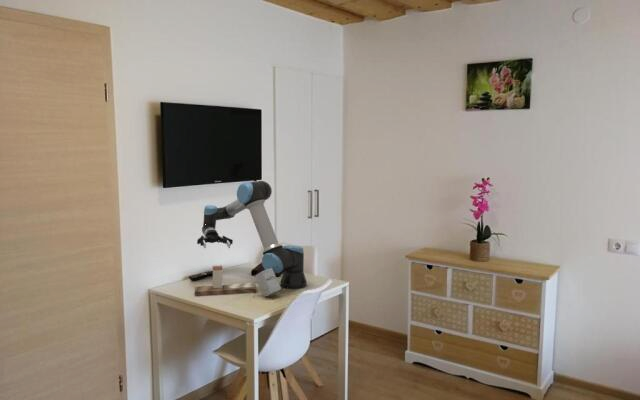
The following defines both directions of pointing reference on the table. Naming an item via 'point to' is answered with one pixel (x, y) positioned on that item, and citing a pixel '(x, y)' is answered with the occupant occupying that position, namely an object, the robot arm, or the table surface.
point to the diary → (260, 268)
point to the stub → (217, 276)
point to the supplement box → (268, 282)
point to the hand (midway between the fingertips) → (217, 246)
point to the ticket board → (226, 289)
